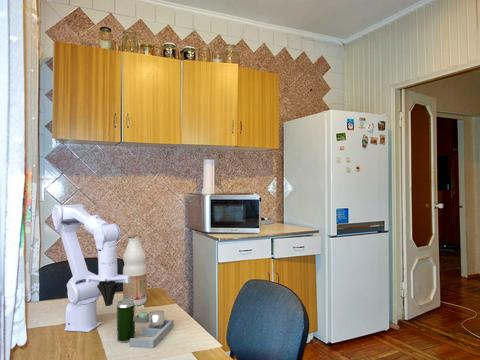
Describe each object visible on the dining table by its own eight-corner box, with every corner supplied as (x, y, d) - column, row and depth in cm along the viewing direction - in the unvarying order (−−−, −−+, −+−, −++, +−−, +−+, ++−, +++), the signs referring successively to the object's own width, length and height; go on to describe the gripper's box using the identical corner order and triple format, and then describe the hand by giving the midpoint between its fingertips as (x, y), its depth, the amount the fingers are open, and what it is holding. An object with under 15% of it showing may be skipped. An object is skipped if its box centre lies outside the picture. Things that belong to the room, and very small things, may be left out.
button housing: (133, 322, 130) (133, 317, 130) (139, 317, 135) (139, 313, 135) (146, 323, 129) (146, 318, 129) (152, 318, 134) (152, 313, 134)
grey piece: (129, 346, 110) (129, 339, 110) (152, 325, 127) (152, 318, 127) (153, 348, 109) (153, 340, 109) (173, 326, 126) (173, 320, 126)
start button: (137, 319, 131) (137, 314, 131) (141, 316, 134) (141, 311, 134) (145, 320, 130) (145, 315, 130) (148, 317, 133) (148, 312, 133)
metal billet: (146, 333, 120) (146, 315, 120) (152, 327, 125) (152, 310, 125) (160, 334, 119) (160, 316, 119) (166, 328, 124) (166, 310, 124)
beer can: (119, 345, 112) (119, 305, 112) (115, 339, 116) (114, 301, 116) (137, 340, 115) (136, 302, 115) (132, 334, 119) (131, 297, 119)
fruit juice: (123, 307, 146) (122, 237, 146) (122, 300, 155) (122, 234, 155) (147, 304, 149) (147, 235, 149) (145, 298, 158) (144, 233, 158)
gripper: (79, 264, 115) (80, 308, 115) (122, 264, 113) (124, 309, 112) (92, 260, 122) (93, 301, 122) (133, 260, 120) (134, 302, 119)
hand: (109, 305), depth 117 cm, fingers closed
